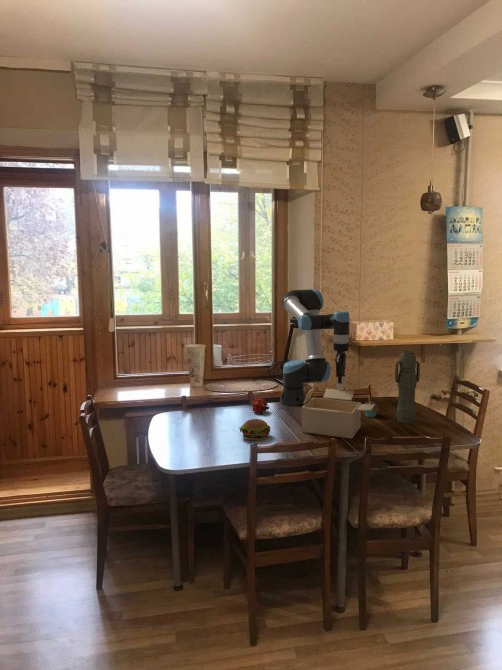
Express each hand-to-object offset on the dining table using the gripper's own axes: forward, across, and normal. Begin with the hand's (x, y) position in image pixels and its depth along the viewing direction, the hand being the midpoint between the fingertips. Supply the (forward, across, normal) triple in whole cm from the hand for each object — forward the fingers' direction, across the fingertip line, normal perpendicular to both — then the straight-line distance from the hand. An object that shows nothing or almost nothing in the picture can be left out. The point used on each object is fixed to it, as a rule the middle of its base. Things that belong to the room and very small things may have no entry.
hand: (340, 389), depth 258 cm
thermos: (+16, +11, -31) cm, 36 cm away
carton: (+16, -15, 0) cm, 22 cm away
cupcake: (+16, +13, -13) cm, 24 cm away
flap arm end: (+4, -16, +12) cm, 20 cm away
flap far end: (+4, -15, -13) cm, 20 cm away
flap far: (+4, -6, 0) cm, 7 cm away
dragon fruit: (+16, -4, +42) cm, 45 cm away
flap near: (+5, -25, 0) cm, 26 cm away
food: (+17, -38, +30) cm, 52 cm away
